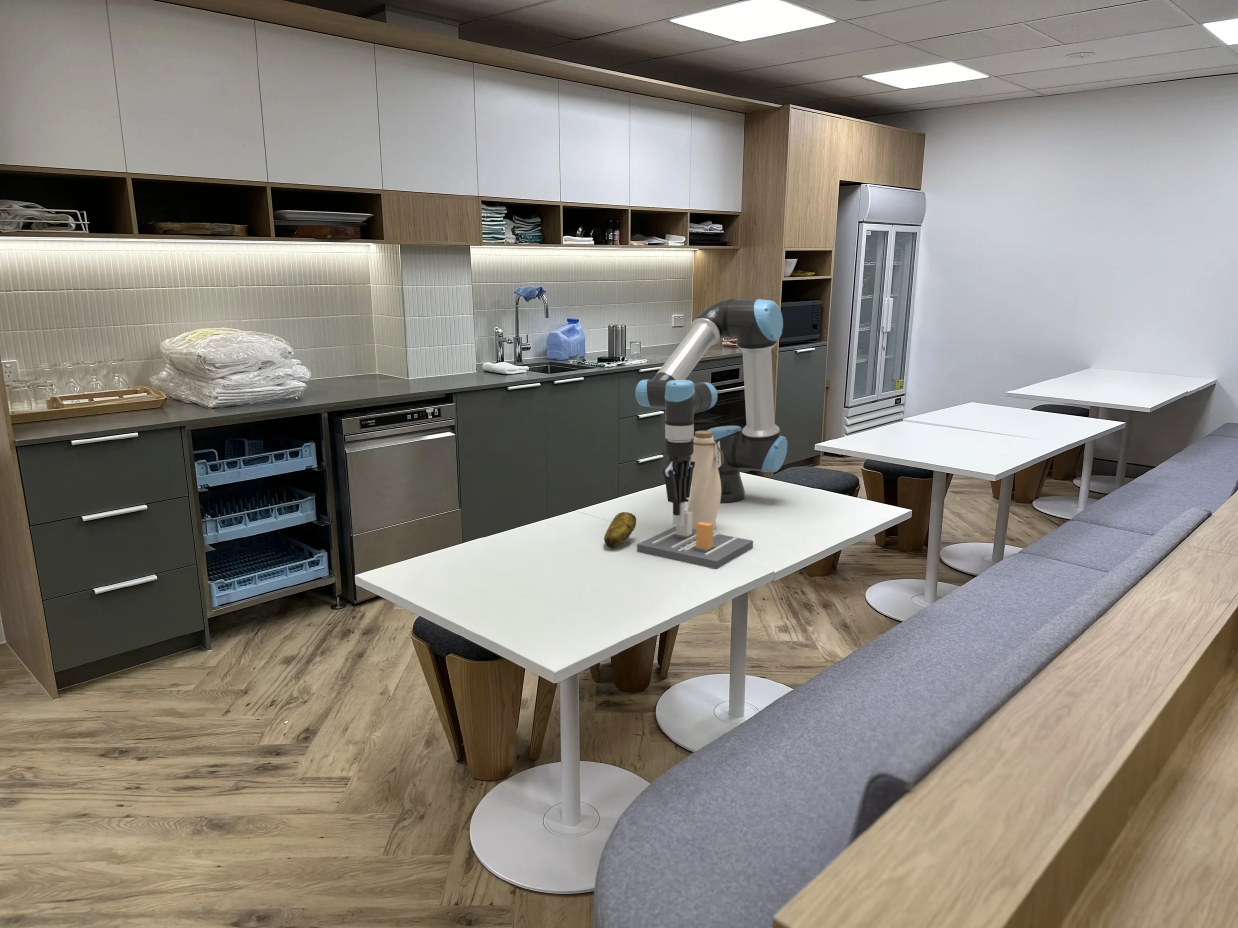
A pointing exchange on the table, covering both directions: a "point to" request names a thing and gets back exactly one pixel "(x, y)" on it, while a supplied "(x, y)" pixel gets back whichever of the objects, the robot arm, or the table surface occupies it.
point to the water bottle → (705, 479)
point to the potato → (620, 529)
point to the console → (685, 551)
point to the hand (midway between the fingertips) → (678, 525)
